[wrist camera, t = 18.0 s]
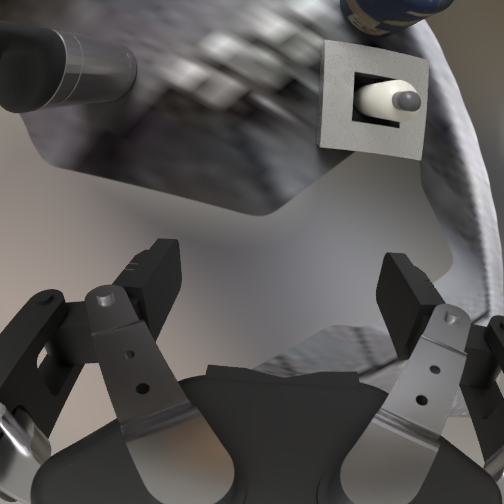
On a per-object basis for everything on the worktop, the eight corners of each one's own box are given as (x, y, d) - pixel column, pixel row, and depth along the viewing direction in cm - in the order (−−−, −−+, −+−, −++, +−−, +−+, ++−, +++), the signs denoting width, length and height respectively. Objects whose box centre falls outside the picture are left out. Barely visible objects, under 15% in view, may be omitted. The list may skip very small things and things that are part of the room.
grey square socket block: (316, 143, 41) (319, 147, 37) (320, 45, 35) (325, 39, 31) (410, 155, 40) (421, 160, 36) (417, 63, 34) (428, 60, 30)
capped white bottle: (352, 114, 39) (388, 120, 25) (354, 82, 36) (391, 73, 23) (383, 118, 38) (430, 128, 25) (385, 87, 36) (433, 84, 23)
